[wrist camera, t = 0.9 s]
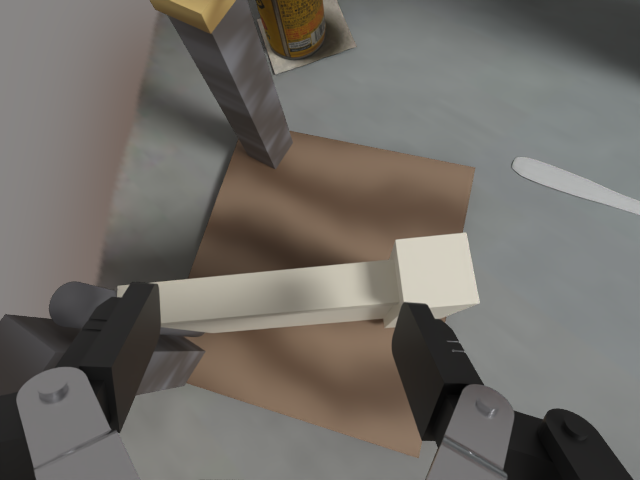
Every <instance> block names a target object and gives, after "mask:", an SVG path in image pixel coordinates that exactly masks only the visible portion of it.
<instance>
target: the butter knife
mask: <svg viewBox="0 0 640 480" xmlns="http://www.w3.org/2000/svg"><path fill="white" fill-rule="evenodd" d="M512 168H513V169H514V170H515V171H516V172H517V173H518V174H520V175H521V176H523V177H525V178H527V179H530V180H532V181H535V182H537V183H540V184H542V185H545V186H548V187H551V188H554V189H557V190H560V191H563V192H566V193H569V194H572V195H575V196H578V197H581V198H585V199H588V200H592V201H596V202H599V203H603V204H606V205H609V206H613V207H616V208H619V209H622V210H625V211H629V212H632V213H635V214H638V215H640V201H638V200H635V199H632V198H630V197H627V196H624V195H622V194H619V193H617V192H615V191H612V190H610V189H608V188H606V187H603V186H601V185H599V184H597V183H595V182H592V181H590V180H588V179H586V178H583V177H580V176H578V175H575V174H573V173H570V172H568V171H565V170H562V169H560V168H557V167H555V166H552V165H549V164H546V163H544V162H541V161H538V160H535V159H531V158H525V157H517V158H515V160H514V162H513V164H512Z"/></svg>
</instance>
